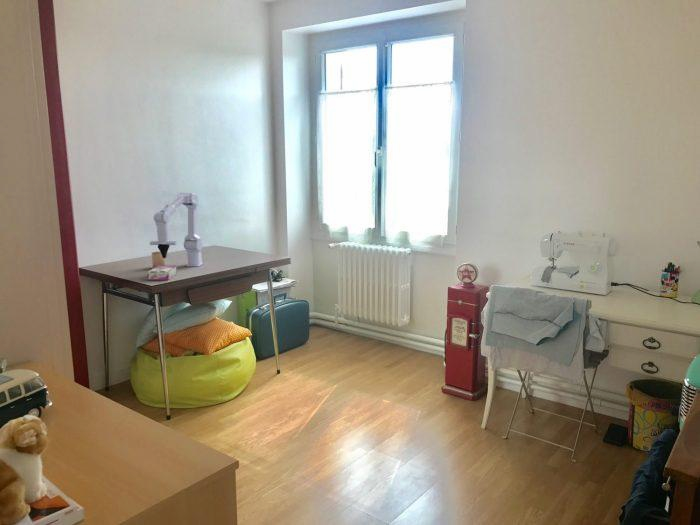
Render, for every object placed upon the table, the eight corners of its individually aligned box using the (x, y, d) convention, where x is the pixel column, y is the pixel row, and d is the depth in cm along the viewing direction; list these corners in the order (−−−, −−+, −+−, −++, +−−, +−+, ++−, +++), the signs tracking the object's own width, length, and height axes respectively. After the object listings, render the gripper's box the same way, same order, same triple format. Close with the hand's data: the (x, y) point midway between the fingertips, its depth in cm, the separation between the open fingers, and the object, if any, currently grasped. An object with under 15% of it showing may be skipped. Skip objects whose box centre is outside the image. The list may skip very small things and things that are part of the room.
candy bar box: (157, 274, 315) (147, 280, 299) (156, 265, 314) (147, 271, 298) (177, 273, 315) (168, 280, 299) (176, 265, 314) (168, 271, 298)
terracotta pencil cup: (155, 266, 335) (154, 251, 333) (166, 266, 335) (165, 251, 333) (150, 268, 328) (149, 253, 326) (162, 268, 328) (161, 253, 326)
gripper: (147, 234, 305) (148, 259, 308) (173, 234, 305) (174, 259, 307) (152, 232, 312) (153, 256, 315) (177, 233, 311) (179, 256, 314)
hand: (164, 257), depth 312 cm, fingers closed
